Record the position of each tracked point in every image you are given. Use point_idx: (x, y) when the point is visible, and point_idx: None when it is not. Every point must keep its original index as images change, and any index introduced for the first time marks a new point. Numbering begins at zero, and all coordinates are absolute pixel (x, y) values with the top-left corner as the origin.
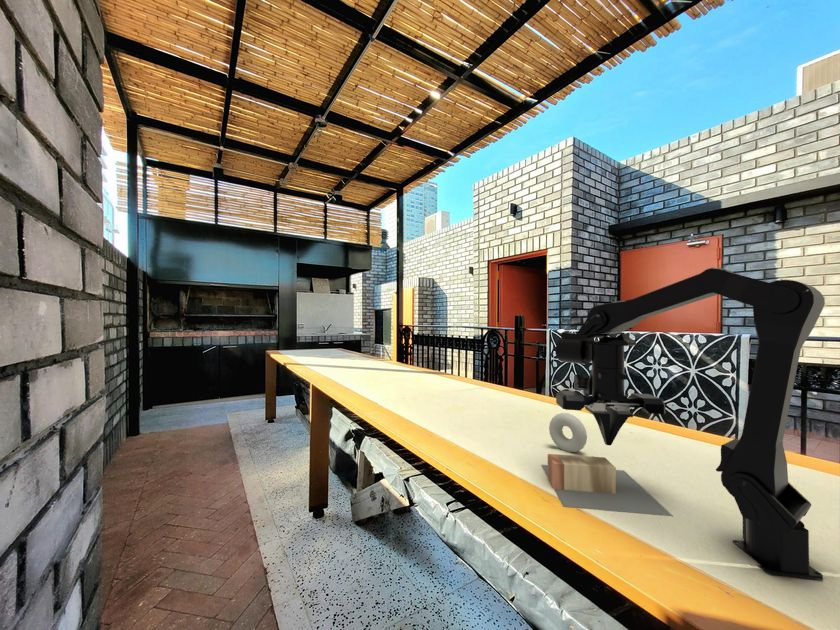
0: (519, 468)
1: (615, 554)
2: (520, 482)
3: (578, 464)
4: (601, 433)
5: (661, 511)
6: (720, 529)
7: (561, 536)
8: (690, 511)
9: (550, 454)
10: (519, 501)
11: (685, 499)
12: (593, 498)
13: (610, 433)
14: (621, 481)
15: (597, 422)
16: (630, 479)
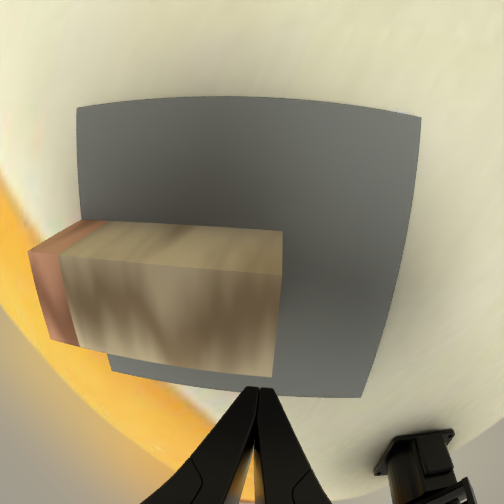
0: (23, 143)
1: (181, 455)
2: (26, 244)
3: (126, 353)
4: (217, 427)
5: (348, 385)
6: (422, 405)
7: (110, 422)
8: (430, 358)
9: (36, 259)
10: (37, 332)
11: (472, 303)
12: None
13: (255, 477)
14: (352, 223)
15: (168, 486)
16: (399, 202)
